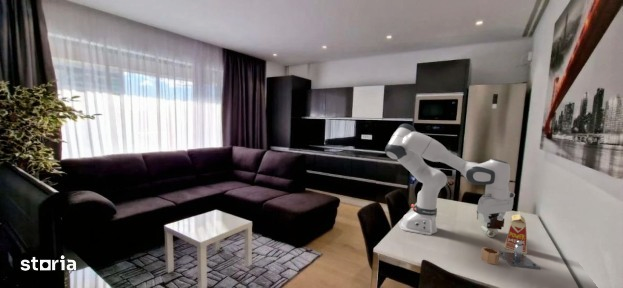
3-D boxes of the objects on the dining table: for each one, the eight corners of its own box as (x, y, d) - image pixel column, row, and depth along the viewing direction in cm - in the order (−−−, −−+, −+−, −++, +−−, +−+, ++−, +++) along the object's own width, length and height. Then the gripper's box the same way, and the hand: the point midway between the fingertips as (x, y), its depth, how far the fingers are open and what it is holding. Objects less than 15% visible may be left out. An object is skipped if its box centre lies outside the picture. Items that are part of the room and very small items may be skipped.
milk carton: (504, 243, 141) (508, 208, 139) (526, 248, 135) (530, 213, 133) (504, 249, 134) (508, 213, 132) (526, 255, 128) (531, 217, 126)
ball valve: (504, 242, 141) (508, 212, 139) (488, 240, 143) (491, 210, 141) (489, 229, 159) (492, 202, 157) (474, 227, 160) (477, 200, 159)
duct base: (511, 265, 117) (513, 245, 116) (496, 252, 129) (498, 234, 128) (539, 269, 116) (542, 248, 115) (522, 255, 128) (524, 236, 127)
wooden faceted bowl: (485, 263, 118) (486, 253, 118) (477, 255, 125) (478, 246, 125) (501, 265, 118) (502, 255, 117) (493, 257, 124) (494, 247, 124)
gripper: (488, 196, 112) (485, 226, 113) (517, 193, 119) (514, 221, 121) (474, 192, 118) (472, 221, 119) (503, 190, 125) (500, 216, 127)
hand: (493, 221), depth 120 cm, fingers open, 8 cm apart
